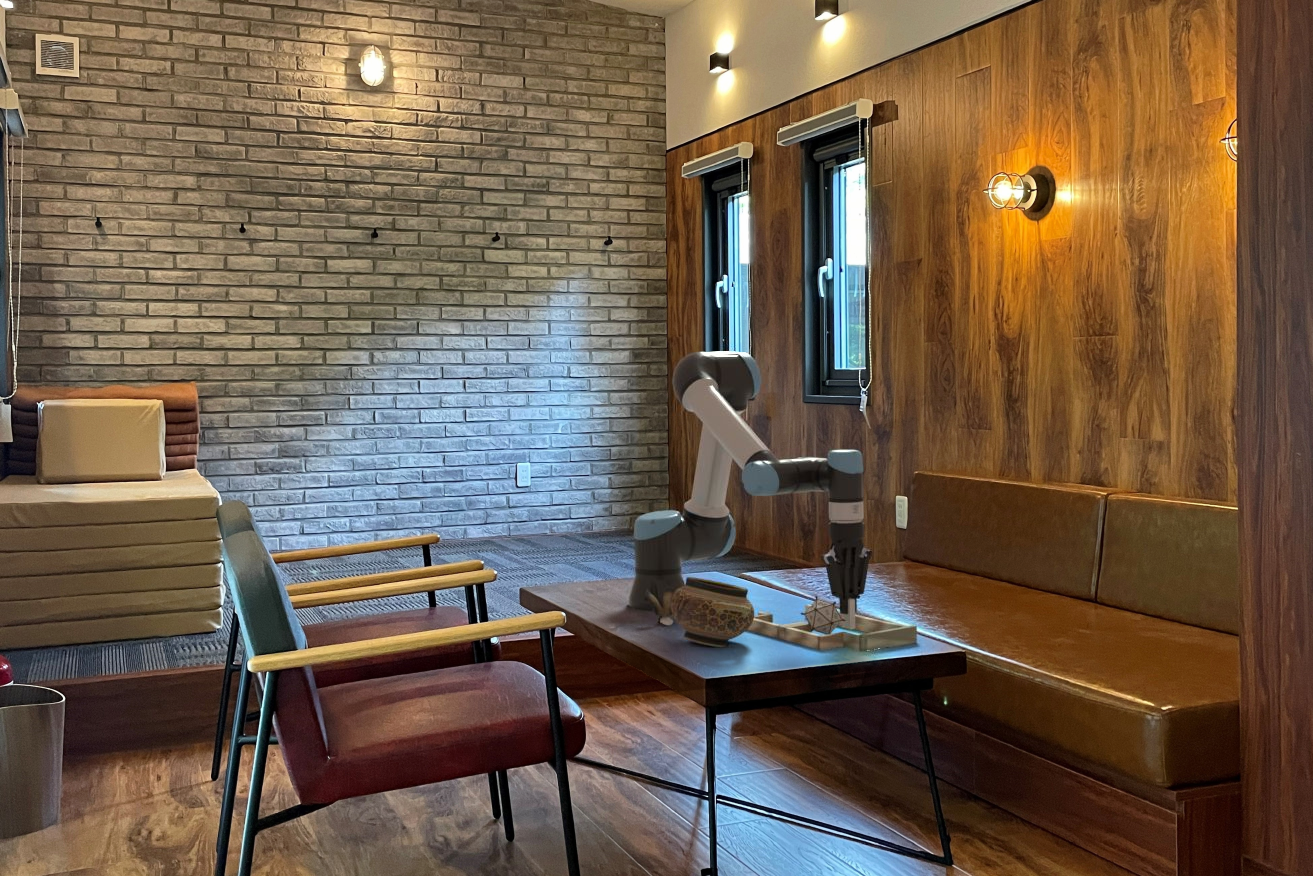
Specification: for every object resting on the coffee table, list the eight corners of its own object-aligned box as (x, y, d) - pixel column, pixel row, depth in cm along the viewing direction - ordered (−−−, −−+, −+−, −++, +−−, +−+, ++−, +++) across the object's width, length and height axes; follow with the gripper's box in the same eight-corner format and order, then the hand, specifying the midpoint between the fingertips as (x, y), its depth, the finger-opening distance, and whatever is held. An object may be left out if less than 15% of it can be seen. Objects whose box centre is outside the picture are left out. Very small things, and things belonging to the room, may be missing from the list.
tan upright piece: (664, 622, 286) (663, 584, 286) (685, 626, 281) (685, 588, 281) (640, 627, 281) (639, 589, 280) (662, 631, 276) (661, 592, 275)
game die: (805, 629, 272) (787, 612, 265) (829, 600, 273) (812, 582, 265) (832, 651, 266) (816, 634, 258) (857, 621, 267) (841, 603, 259)
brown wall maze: (737, 628, 277) (736, 613, 277) (809, 616, 289) (809, 602, 289) (841, 656, 248) (840, 639, 248) (917, 642, 260) (916, 626, 259)
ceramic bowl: (651, 640, 267) (650, 572, 267) (723, 631, 275) (722, 565, 274) (700, 663, 245) (699, 589, 244) (777, 653, 252) (776, 581, 251)
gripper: (835, 524, 259) (837, 634, 260) (880, 519, 266) (882, 626, 267) (812, 522, 265) (814, 629, 266) (856, 516, 272) (859, 621, 273)
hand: (848, 628), depth 266 cm, fingers closed
